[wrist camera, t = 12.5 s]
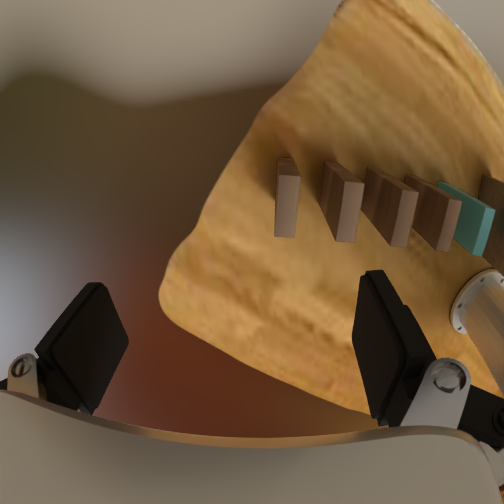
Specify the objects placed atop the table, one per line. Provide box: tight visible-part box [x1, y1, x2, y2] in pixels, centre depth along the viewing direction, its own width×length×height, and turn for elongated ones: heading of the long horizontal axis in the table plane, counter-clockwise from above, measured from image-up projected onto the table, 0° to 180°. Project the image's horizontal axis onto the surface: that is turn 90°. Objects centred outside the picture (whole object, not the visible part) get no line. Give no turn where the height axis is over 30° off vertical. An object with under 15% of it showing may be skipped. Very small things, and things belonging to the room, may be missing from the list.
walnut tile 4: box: [404, 174, 462, 252], centre depth 25 cm, size 2×5×10 cm, turn 177°
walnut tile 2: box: [319, 162, 364, 243], centre depth 26 cm, size 2×5×10 cm, turn 178°
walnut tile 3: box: [361, 167, 419, 248], centre depth 26 cm, size 2×5×10 cm, turn 178°
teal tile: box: [437, 181, 495, 256], centre depth 25 cm, size 2×5×10 cm, turn 177°
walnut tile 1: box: [274, 157, 301, 238], centre depth 26 cm, size 2×5×10 cm, turn 178°
